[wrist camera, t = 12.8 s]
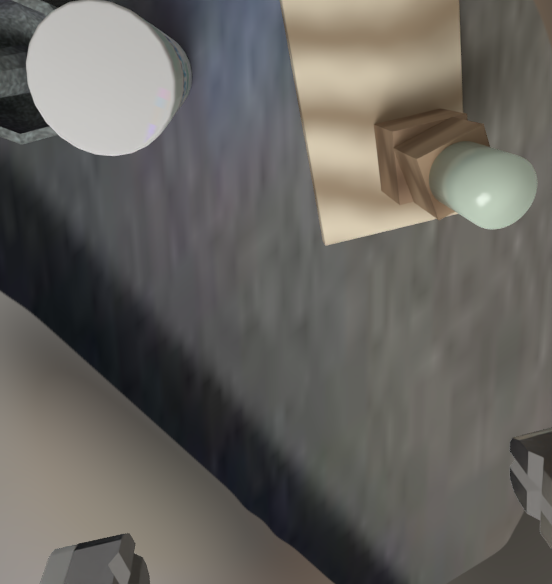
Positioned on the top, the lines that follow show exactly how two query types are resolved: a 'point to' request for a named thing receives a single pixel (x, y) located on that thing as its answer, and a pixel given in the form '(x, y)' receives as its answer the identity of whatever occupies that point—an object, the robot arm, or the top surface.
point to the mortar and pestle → (19, 71)
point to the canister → (483, 183)
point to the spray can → (105, 76)
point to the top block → (433, 158)
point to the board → (367, 96)
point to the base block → (393, 136)
